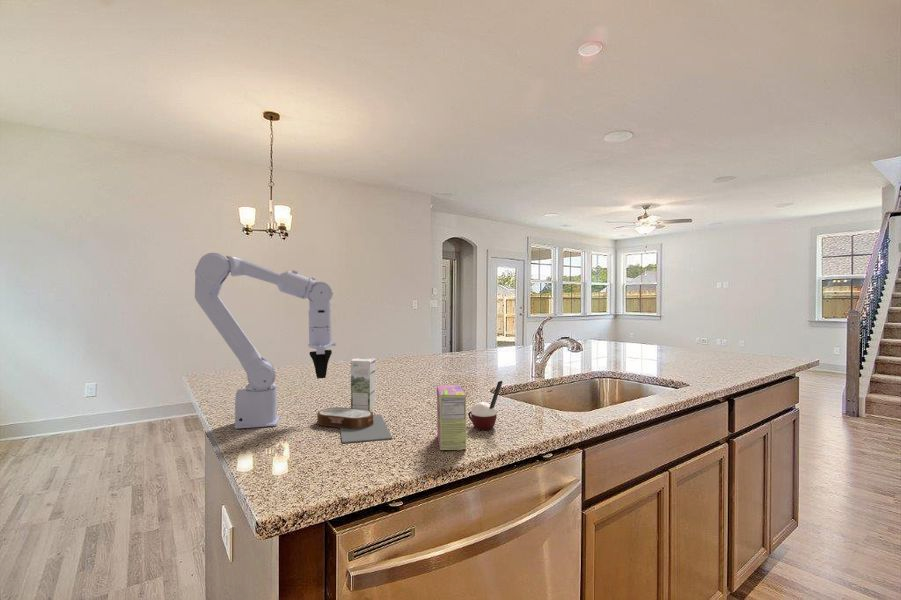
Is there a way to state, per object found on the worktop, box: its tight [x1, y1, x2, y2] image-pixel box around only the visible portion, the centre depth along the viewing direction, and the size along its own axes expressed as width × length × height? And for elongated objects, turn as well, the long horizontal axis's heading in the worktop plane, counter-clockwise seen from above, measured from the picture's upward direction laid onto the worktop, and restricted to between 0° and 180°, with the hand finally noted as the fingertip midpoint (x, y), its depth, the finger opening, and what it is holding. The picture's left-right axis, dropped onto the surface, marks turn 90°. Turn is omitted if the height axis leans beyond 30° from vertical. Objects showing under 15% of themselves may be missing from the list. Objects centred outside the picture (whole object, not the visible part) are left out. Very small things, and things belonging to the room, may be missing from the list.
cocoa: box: [467, 380, 503, 431], centre depth 106 cm, size 10×6×12 cm, turn 29°
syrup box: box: [350, 357, 376, 412], centre depth 123 cm, size 6×6×14 cm
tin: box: [316, 407, 374, 429], centre depth 109 cm, size 15×3×8 cm
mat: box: [339, 414, 393, 444], centre depth 106 cm, size 11×20×1 cm, turn 17°
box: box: [436, 384, 467, 451], centre depth 95 cm, size 10×6×12 cm, turn 5°
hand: (321, 377), depth 115 cm, fingers closed
